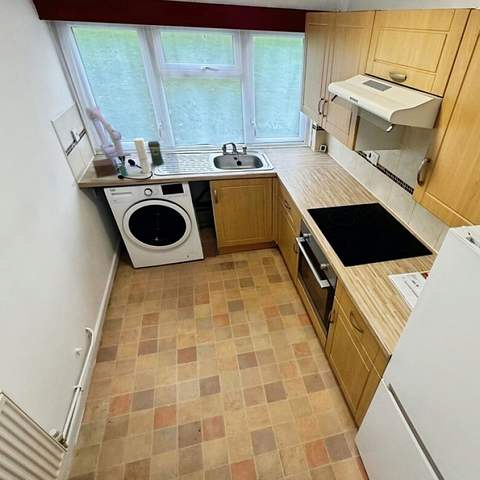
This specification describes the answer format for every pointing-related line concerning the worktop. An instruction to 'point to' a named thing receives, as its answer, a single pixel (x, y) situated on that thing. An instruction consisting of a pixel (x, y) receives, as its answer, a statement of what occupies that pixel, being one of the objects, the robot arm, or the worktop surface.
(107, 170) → the cabinet
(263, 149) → the worktop surface
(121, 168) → the scoop
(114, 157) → the robot arm
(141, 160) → the cylindrical container
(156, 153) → the coffee jar
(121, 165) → the drawer
